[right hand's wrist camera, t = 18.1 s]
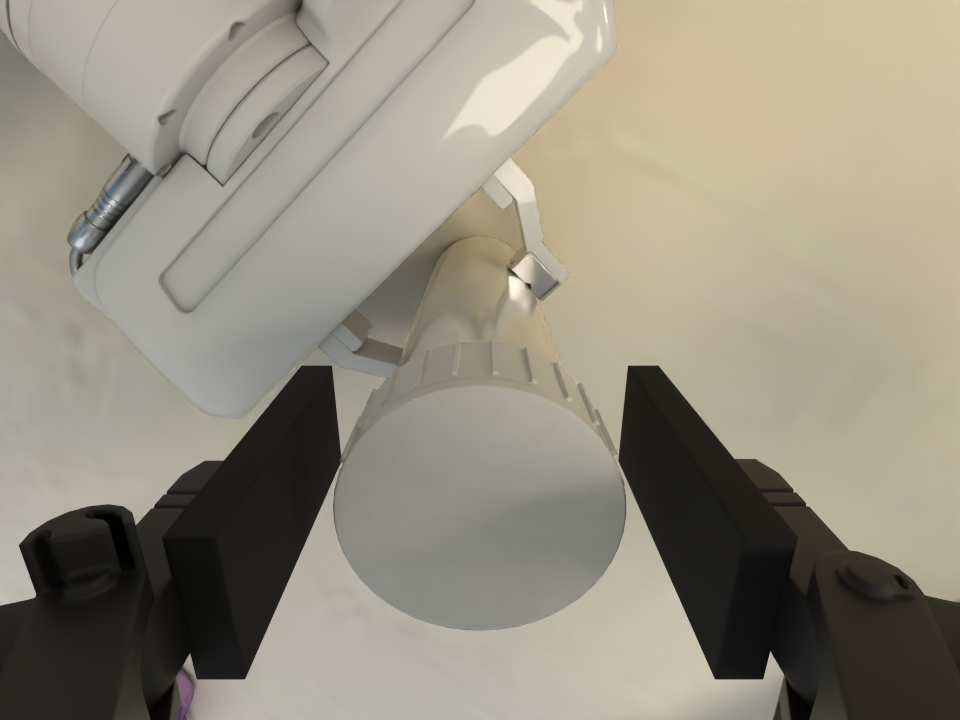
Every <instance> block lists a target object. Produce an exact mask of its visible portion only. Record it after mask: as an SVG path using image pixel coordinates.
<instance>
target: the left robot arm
mask: <svg viewBox="0 0 960 720" xmlns="http://www.w3.org/2000/svg"><path fill="white" fill-rule="evenodd" d="M0 29H1V30H2V32H3V33H4V35H5V36H6V37H7V38H8V39H9V41H10V42H11V43H12V44H13V45H14V46H15V48H16V49H17V50H18V51H19V52H20V53H21V54H22V55H23V56H24V57H25V58H26V59H28V61H30V62H31V63H32V64H33V65H34V66H35V67H36V68H37V69H38V70H39V71H40V72H41V73H43V74H44V75H45V76H46V77H47V78H48V79H49V80H50V81H51V82H52V83H53V84H54V85H56V86H57V87H58V88H59V89H60V90H61V91H62V92H63V93H64V94H65V95H66V96H68V97H69V98H70V99H71V100H72V101H73V102H74V103H75V104H76V105H77V106H78V107H79V108H81V109H82V110H83V111H84V112H85V113H86V114H87V115H88V116H89V117H90V118H91V119H93V120H94V121H95V122H96V123H97V124H98V125H99V126H100V127H102V128H103V129H104V130H105V131H106V132H107V133H108V134H109V135H110V136H111V137H112V138H113V139H114V140H116V141H117V142H118V143H119V144H120V145H121V146H122V147H123V148H124V149H125V150H126V151H127V152H129V153H128V154H127V155H126V157H125V158H124V159H123V161H122V162H121V164H120V165H119V166H118V167H117V169H116V170H115V171H114V173H113V174H112V175H111V176H110V178H109V179H108V181H107V182H106V184H105V185H104V187H103V189H102V191H101V193H100V195H99V196H98V198H97V199H96V201H95V202H94V204H93V205H92V206H91V207H90V208H89V210H86V211H84V212H83V213H82V214H81V215H80V216H79V217H78V218H77V219H76V221H75V222H74V223H73V225H72V227H71V228H70V231H69V233H68V236H67V241H68V243H69V244H70V246H71V247H72V249H71V253H70V270H71V274H72V284H73V286H74V287H75V289H76V290H77V292H78V293H79V294H80V295H81V296H82V297H83V298H84V299H85V300H86V301H87V302H88V303H90V304H91V305H92V306H93V307H95V308H96V309H97V310H98V311H99V312H101V313H102V314H103V315H104V316H106V317H107V318H108V319H109V320H110V321H112V322H113V323H114V324H115V325H116V326H117V327H118V329H119V330H120V331H121V332H122V333H123V334H124V336H125V337H126V338H127V339H128V340H129V341H130V342H131V343H132V344H133V346H134V347H135V348H136V349H137V350H138V351H139V352H140V353H141V354H142V355H143V356H144V357H145V358H146V359H147V360H148V361H149V363H150V364H151V365H152V366H153V367H154V368H155V369H156V370H157V371H158V372H159V373H160V374H161V375H162V376H163V377H164V378H165V379H166V380H167V381H168V382H170V383H171V384H172V385H173V386H174V387H175V388H176V389H177V390H178V391H179V392H180V393H181V394H182V395H183V396H184V397H185V398H187V399H188V400H189V401H190V402H191V403H192V404H193V405H195V406H196V407H197V408H198V409H200V410H201V411H202V412H204V413H205V414H207V415H210V416H215V417H221V418H228V419H236V420H238V419H242V418H244V417H245V416H246V415H247V414H248V413H249V412H250V411H251V410H252V409H253V408H255V407H256V406H257V405H258V404H259V403H260V402H261V401H262V400H263V399H264V398H265V397H266V396H267V395H268V394H269V393H270V392H271V391H272V390H273V389H274V388H275V387H276V386H277V385H278V384H279V383H280V382H281V381H282V380H283V379H284V378H285V377H286V376H287V375H288V374H289V373H290V372H291V371H292V370H293V369H294V368H295V367H296V366H297V365H298V364H299V363H301V362H302V361H303V360H304V359H305V358H306V357H307V356H308V355H309V354H310V353H311V352H312V351H313V350H314V349H315V348H316V347H317V346H318V347H319V348H320V349H321V350H322V351H323V352H324V353H325V354H326V355H328V356H329V357H330V358H331V359H332V360H333V361H334V362H335V363H336V364H337V365H339V366H340V367H343V368H347V369H351V370H355V371H359V372H363V373H367V374H371V375H375V376H379V377H383V378H388V377H389V376H391V374H392V371H393V369H394V368H395V367H396V366H397V364H398V361H399V358H400V356H401V353H402V350H403V349H402V348H399V347H395V346H392V345H389V344H386V343H383V342H380V341H376V340H373V339H370V338H367V336H368V334H369V333H370V331H371V329H372V325H371V324H370V323H369V322H368V321H367V320H366V319H365V318H364V317H363V316H362V315H361V314H360V313H359V312H358V311H357V310H356V308H357V307H358V306H359V305H360V304H361V303H362V302H363V301H364V300H365V299H366V298H367V297H368V296H369V295H370V294H371V293H372V292H373V291H374V290H375V289H376V288H377V287H378V286H379V285H380V284H381V283H382V282H383V281H384V280H385V279H386V278H387V277H388V276H389V275H390V274H391V273H392V272H394V271H395V270H396V269H397V268H398V267H399V266H400V265H401V264H402V263H403V262H404V261H405V260H406V259H407V258H408V257H409V256H410V255H411V254H412V253H413V252H414V251H415V250H416V249H417V248H418V247H419V246H420V245H421V244H422V243H423V242H424V241H425V240H426V239H427V238H428V237H429V236H430V235H431V234H432V233H433V232H434V231H435V230H436V229H437V228H438V227H439V226H441V225H442V224H443V223H444V222H445V221H446V220H447V219H448V218H449V217H450V216H451V215H452V214H453V213H454V212H455V211H456V210H457V209H458V208H459V207H460V206H461V205H462V204H463V203H464V202H465V201H466V200H467V199H468V198H469V197H470V196H471V195H472V194H473V193H474V192H475V191H476V190H477V189H478V188H479V187H481V188H482V189H483V190H484V191H485V192H486V194H487V195H488V196H489V197H490V198H491V199H492V200H493V201H494V202H495V203H496V204H497V206H498V207H499V208H500V209H506V208H507V207H508V206H509V205H510V204H511V203H512V202H513V199H514V203H515V208H516V213H517V218H518V223H519V227H520V232H521V237H522V242H523V246H524V247H522V248H521V249H520V250H519V251H518V252H517V253H516V254H515V255H514V256H513V257H512V258H511V259H510V260H509V262H510V264H511V266H510V267H511V270H512V271H513V272H514V273H515V274H516V275H517V276H518V277H519V278H520V279H521V280H522V281H523V282H524V283H528V284H529V286H530V288H531V290H532V292H533V293H534V295H535V296H536V297H537V298H538V299H539V300H541V301H543V300H544V299H545V298H546V297H547V296H549V295H550V294H551V293H552V292H553V291H554V290H556V289H557V288H558V287H559V286H560V285H561V284H562V283H564V282H565V281H566V280H567V279H568V278H569V277H571V275H570V273H569V272H568V270H567V269H566V268H565V266H564V265H563V264H562V263H561V262H560V260H559V259H558V258H557V257H556V256H555V255H554V254H553V253H552V251H551V250H550V249H549V248H548V247H547V246H546V245H545V244H544V242H543V241H542V240H543V234H542V228H541V223H540V218H539V212H538V207H537V202H536V197H535V191H534V186H533V183H532V182H531V181H530V180H529V179H528V177H527V176H526V175H525V174H524V173H523V171H522V170H521V169H520V168H519V167H518V166H517V164H516V163H515V162H514V161H513V160H512V159H511V156H512V155H513V154H514V153H515V152H516V151H517V150H518V149H519V148H520V147H521V146H522V145H523V144H524V143H525V142H526V141H527V140H528V139H529V138H530V137H531V136H532V135H534V134H535V133H536V132H537V131H538V130H539V129H540V128H541V127H542V126H543V125H544V124H545V123H546V122H547V121H548V120H549V119H550V118H551V117H552V116H553V115H554V114H555V113H556V112H557V111H558V110H559V109H560V108H561V107H562V106H563V105H564V104H565V103H566V102H567V101H568V100H569V99H570V98H571V97H572V96H573V95H574V94H575V93H576V92H577V91H578V90H580V89H581V88H582V87H583V86H584V85H585V84H586V83H587V82H588V81H589V80H590V79H591V78H592V77H593V76H594V75H595V74H596V73H597V72H598V71H599V70H600V69H601V68H602V67H603V66H604V65H605V64H606V63H607V62H608V61H609V60H610V59H611V58H612V57H613V56H614V54H615V51H616V45H617V15H616V9H615V6H614V4H613V2H612V0H0ZM84 253H85V254H91V255H90V256H89V257H88V258H87V260H86V261H85V262H84V263H83V256H84Z"/></svg>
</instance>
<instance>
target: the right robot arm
mask: <svg viewBox="0 0 960 720" xmlns="http://www.w3.org/2000/svg"><path fill="white" fill-rule="evenodd" d="M340 459H341V450H340V441H339V431H338V421H337V411H336V401H335V392H334V382H333V372H332V366H301V367H300V368H299V370H298V371H297V372H296V373H295V374H294V376H293V377H292V378H291V379H290V381H289V382H288V383H287V384H286V385H285V387H284V388H283V389H282V390H281V392H280V393H279V394H278V395H277V397H276V398H275V399H274V400H273V401H272V403H271V404H270V405H269V406H268V408H267V409H266V410H265V411H264V412H263V414H262V415H261V416H260V417H259V419H258V420H257V421H256V422H255V423H254V425H253V426H252V427H251V428H250V430H249V431H248V432H247V433H246V435H245V436H244V437H243V438H242V439H241V441H240V442H239V443H238V444H237V446H236V447H235V448H234V449H233V450H232V452H231V453H230V454H229V455H228V457H227V458H226V459H225V460H224V461H204V462H202V463H201V464H199V465H197V466H196V467H194V468H193V469H191V470H189V471H188V472H186V473H184V474H183V475H181V477H180V478H179V479H178V480H177V481H176V482H175V483H174V484H173V485H172V486H171V488H170V489H169V490H168V491H167V495H163V496H162V497H161V499H160V500H159V501H158V502H157V503H156V504H155V507H154V509H151V510H150V511H149V512H148V513H147V514H146V515H145V516H144V517H143V518H142V519H141V521H140V522H139V523H138V524H137V525H135V521H134V517H133V514H132V512H130V511H129V510H128V509H126V508H125V507H123V506H116V505H109V504H108V505H98V506H89V507H85V508H81V509H78V510H74V511H70V512H67V513H65V514H63V515H60V516H58V517H56V518H54V519H51V520H49V521H47V522H45V523H44V524H43V525H41V526H40V527H38V528H37V529H35V530H34V531H32V532H31V533H29V534H28V536H27V537H26V538H25V539H24V540H23V541H22V542H21V544H20V545H19V547H20V550H21V553H22V556H23V558H24V561H25V564H26V567H27V569H28V572H29V575H30V578H31V580H32V583H33V586H34V589H35V592H36V594H37V595H36V597H35V598H33V599H29V600H25V601H20V602H15V603H11V604H6V605H2V606H0V720H178V718H179V709H180V700H181V699H180V693H179V687H178V683H177V679H176V676H177V675H178V673H179V671H180V669H181V668H182V666H183V664H184V663H185V661H186V659H187V657H188V656H189V654H191V658H192V662H193V666H194V670H195V674H196V678H197V679H245V678H246V676H247V674H248V671H249V669H250V667H251V664H252V662H253V660H254V658H255V655H256V653H257V651H258V649H259V646H260V644H261V642H262V640H263V637H264V635H265V633H266V630H267V628H268V626H269V624H270V621H271V619H272V617H273V615H274V612H275V610H276V608H277V606H278V603H279V601H280V599H281V597H282V594H283V592H284V590H285V587H286V585H287V583H288V581H289V578H290V576H291V574H292V572H293V569H294V567H295V565H296V563H297V560H298V558H299V556H300V553H301V551H302V549H303V547H304V544H305V542H306V540H307V538H308V535H309V533H310V531H311V529H312V526H313V524H314V522H315V520H316V517H317V515H318V513H319V510H320V508H321V506H322V504H323V501H324V499H325V497H326V495H327V492H328V490H329V488H330V486H331V483H332V481H333V479H334V477H335V474H336V472H337V470H338V467H339V465H340V463H341V462H340ZM618 461H619V463H620V465H621V467H622V470H623V472H624V474H625V477H626V479H627V481H628V483H629V486H630V488H631V490H632V492H633V495H634V497H635V499H636V501H637V504H638V506H639V508H640V510H641V513H642V515H643V517H644V520H645V522H646V524H647V526H648V529H649V531H650V533H651V535H652V538H653V540H654V542H655V544H656V547H657V549H658V551H659V554H660V556H661V558H662V560H663V563H664V565H665V567H666V569H667V572H668V574H669V576H670V578H671V581H672V583H673V585H674V587H675V590H676V592H677V594H678V597H679V599H680V601H681V603H682V606H683V608H684V610H685V612H686V615H687V617H688V619H689V621H690V624H691V626H692V628H693V630H694V633H695V635H696V637H697V640H698V642H699V644H700V646H701V649H702V651H703V653H704V655H705V658H706V660H707V662H708V664H709V667H710V669H711V671H712V674H713V676H714V678H715V679H763V678H764V674H765V670H766V666H767V662H768V658H769V654H770V651H771V653H772V654H773V656H774V658H775V660H776V661H777V663H778V665H779V667H780V668H781V670H782V672H783V674H784V679H783V683H782V687H781V691H780V694H779V698H778V702H777V706H776V709H775V713H774V717H773V720H960V603H956V602H952V601H947V600H942V599H938V598H933V597H929V596H925V595H924V594H923V592H922V591H921V590H920V588H919V587H918V586H917V584H916V583H915V582H914V580H912V579H911V578H910V577H909V576H907V575H906V574H905V573H903V572H902V571H901V570H900V569H898V568H897V567H895V566H893V565H891V564H889V563H887V562H885V561H883V560H881V559H879V558H877V557H873V556H870V555H867V554H864V553H861V552H857V551H849V550H848V549H847V547H846V546H845V545H844V544H843V543H842V542H841V541H840V540H839V539H838V538H837V537H836V535H835V534H834V533H833V532H832V531H831V530H830V529H829V528H828V527H827V526H826V524H825V523H824V522H823V521H822V520H821V519H820V518H819V517H818V516H817V515H816V514H815V512H814V511H813V510H812V509H811V508H810V507H806V503H805V502H804V500H803V499H802V498H801V497H800V496H799V495H798V494H797V493H794V492H793V488H792V487H791V486H790V485H789V484H788V483H787V482H786V481H785V480H784V479H783V478H782V476H781V475H780V474H779V473H777V472H776V471H774V470H773V469H771V468H769V467H768V466H766V465H764V464H763V463H761V462H759V461H758V460H756V459H734V458H733V457H732V455H731V454H730V453H729V452H728V450H727V449H726V448H725V447H724V446H723V444H722V443H721V442H720V441H719V439H718V438H717V437H716V436H715V435H714V433H713V432H712V431H711V430H710V428H709V427H708V426H707V425H706V423H705V422H704V421H703V420H702V419H701V417H700V416H699V415H698V414H697V412H696V411H695V410H694V409H693V408H692V406H691V405H690V404H689V403H688V401H687V400H686V399H685V398H684V397H683V395H682V394H681V393H680V392H679V390H678V389H677V388H676V387H675V385H674V384H673V383H672V382H671V381H670V379H669V378H668V377H667V376H666V374H665V373H664V372H663V371H662V370H661V368H660V367H659V366H628V372H627V382H626V391H625V401H624V411H623V421H622V431H621V441H620V450H619V460H618Z"/></svg>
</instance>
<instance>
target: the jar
mask: <svg viewBox="0 0 960 720" xmlns="http://www.w3.org/2000/svg"><path fill="white" fill-rule="evenodd" d="M516 253H517V252H516V251H515V250H514V249H513V248H511V247H510V246H509V245H507V244H506V243H504V242H502V241H500V240H498V239H495V238H492V237H487V236H473V237H468V238H465V239H462V240H460V241H458V242H456V243H454V244H452V245H451V246H449V247H448V248H447V249H446V250H445V251H444V252H443V253H442V255H441V256H440V257H439V259H438V260H437V262H436V264H435V266H434V269H433V272H432V274H431V277H430V280H429V282H428V285H427V287H426V290H425V293H424V295H423V298H422V301H421V303H420V306H419V308H418V311H417V314H416V316H415V319H414V322H413V324H412V327H411V329H410V332H409V335H408V337H407V340H406V343H405V345H404V348H403V350H402V353H401V356H400V358H399V361H398V364H397V366H398V367H399V368H400V367H401V366H403V365H404V364H405V363H407V362H408V361H410V360H411V359H413V358H415V357H417V356H419V355H421V353H422V351H423V350H425V349H427V351H430V350H433V349H436V348H438V347H441V346H445V345H450V344H455V341H457V340H461V342H471V341H490V342H491V339H495V340H496V342H499V343H505V344H511V345H514V346H518V347H521V348H524V349H525V347H529V348H530V349H531V351H532V352H534V353H536V354H539V355H541V356H543V357H545V358H546V359H548V360H550V361H551V362H553V363H554V364H555V362H558V363H560V365H561V368H562V370H563V371H565V370H564V367H563V364H562V362H561V359H560V356H559V354H558V351H557V349H556V346H555V343H554V341H553V338H552V335H551V333H550V330H549V327H548V325H547V322H546V320H545V317H544V314H543V312H542V309H541V306H540V304H539V301H538V298H537V297H536V296H535V295H534V293H533V292H532V290H531V288H530V286H529V284H528V283H524V282H523V281H522V280H521V279H520V278H519V277H518V276H517V275H516V274H515V273H514V272H513V271H512V270H511V267H510V266H511V264H510V262H509V260H510V259H511V258H512V257H513V256H514V255H515V254H516Z"/></svg>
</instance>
